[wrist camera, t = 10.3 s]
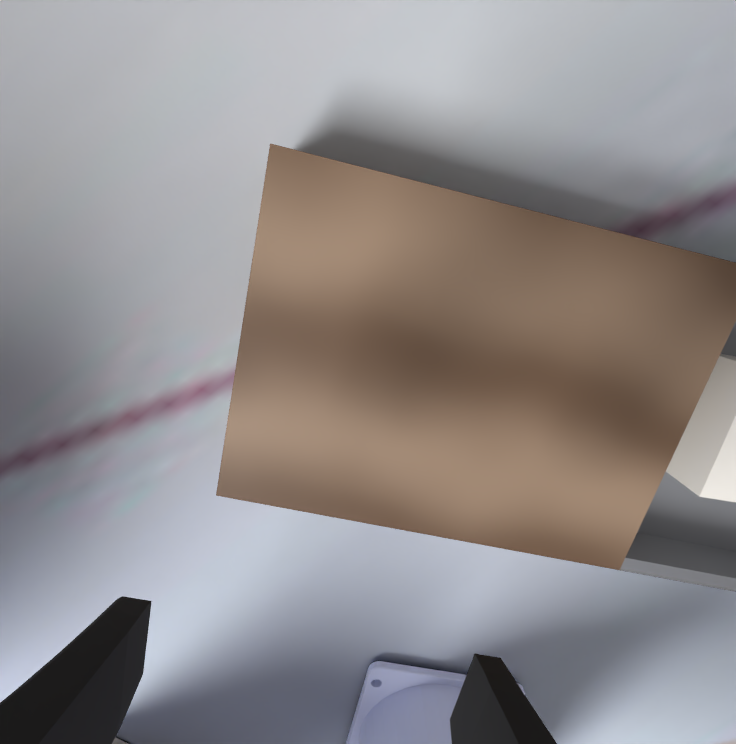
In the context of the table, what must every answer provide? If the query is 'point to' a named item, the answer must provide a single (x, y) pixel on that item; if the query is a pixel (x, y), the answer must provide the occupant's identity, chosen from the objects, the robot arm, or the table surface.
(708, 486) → the white square block
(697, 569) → the box
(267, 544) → the table surface
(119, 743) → the coffee box
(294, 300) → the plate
